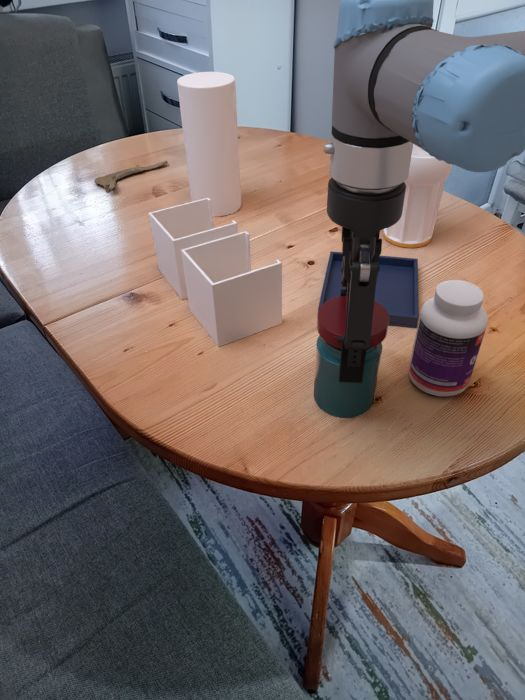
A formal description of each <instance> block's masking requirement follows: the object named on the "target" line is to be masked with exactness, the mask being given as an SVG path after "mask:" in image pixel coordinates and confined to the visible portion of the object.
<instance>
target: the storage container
mask: <svg viewBox="0 0 525 700" xmlns="http://www.w3.org/2000/svg"><path fill="white" fill-rule="evenodd" d="M148 218H149V224H150V225H149V226H150V230H151V236H152V241H153V247H154V253H155V258H156V264H157V269H158V271H159V272H160V273H161V275H162V276H163V277H164V279H165V280H166V282H167V283H168V284H169V286H170V287H171V288H172V289H173V290H174V292H175V293H176V294H177V295H178V297H179V298H180V299H181V300H182V301H183V300H186V299H187V304H188V310H189V311H190V312H191V314H192V315H193V316H194V317H195V319H196V320H197V321H198V322H199V324H200V325H201V327H202V328H203V329H204V330H205V331H206V333H207V335H208V336H209V337H210V338H211V340H212V341H213V342H214V344H215V345H216V346H217V347H218V348H220V347H222V346H225V345H227V344H231V343H233V342H236V341H239V340H241V339H244V338H246V337H250V336H252V335H255V334H257V333H260V332H263V331H265V330H268V329H271V328H274V327H276V326H280V325H282V324H283V262H282V261H280V260H279V259H275V262H274V263H272V264H269V265H266V266H262V267H260V268H257V269H254V270H252V264H251V263H252V262H251V242H250V241H251V240H250V233H249V232H248V231H247V230H245V231H241V232H239V231H238V223H237V222H236V221H235V220H234V219H233V220H231V223H228V224H224V225H220V226H218V227H214V217H213V216H212V205H211V200H210V199H209V198H205V199H201V200H197V201H193V202H191V201H190V202H186V203H185V202H184V203H181V204H177V205H173V206H169V207H166V208H162V209H158V210H155V211H150V212H148Z"/></svg>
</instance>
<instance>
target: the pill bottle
mask: <svg viewBox="0 0 525 700" xmlns="http://www.w3.org/2000/svg"><path fill="white" fill-rule="evenodd" d="M484 298H485V296H484V292H483V291H482V289H481V288H480V287H479V286H477V285H476V284H473V283H472V282H470V281H466V280H462V279H448V280H444V281H441V282H440V283H438V285H437V286H436V287H435V292H434V294H433V296H432V297H429V299H427V300H426V301H425V302H424V303H423V305H422V306H421V308H420V312H419V319H418V324H417V328H416V332H415V337H414V341H413V346H412V351H411V356H410V361H409V366H408V375H409V379H410V380H411V382H412V383H413V384H414V386H415V387H417V388H418V389H419V390H420V391H422V392H423V393H426V394H429V395H431V396H436V397H452V396H457V395H459V394H461V393H463V392H464V391H465V390H466V389H467V388H468V386H469V384H470V381H471V378H472V375H473V372H474V369H475V365H476V362H477V359H478V356H479V352H480V349H481V347H482V343H483V340H484V337H485V334H486V330H487V327H488V323H489V317H488V313H487V311H486V310H485V308H484V307H483V306H482V305H483V302H484Z"/></svg>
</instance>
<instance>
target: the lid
mask: <svg viewBox="0 0 525 700" xmlns="http://www.w3.org/2000/svg"><path fill="white" fill-rule="evenodd" d="M346 302H347V296H340V297H335V298H332V299H330V300H328V301H326V302H325V303H324V304H323V305H322V306H321V307H320V308H319V311H318V310H317V317H316V318H317V319H316V331H317V333H318V336H319V335H320V336H321V338H322V339H323V340H324V341H326V342H327V343H329V344H330V345H332V346H334V347H337V348H340V349H341V348H342V343H338V336H343V335H344V334H345V319H346ZM389 326H390V325H389V314H388V312H387V311H386V309H385V308H384V307H383V306H382V305H381V304H379V303H378V302H376V301H374V309H373V319H372V328H371V338H370V342H371V347H370V348H373V347H375V346H377V345H379V344H380V343H383V342H384V341H385V339H386V337H387V335H388V331H389Z"/></svg>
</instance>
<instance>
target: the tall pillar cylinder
mask: <svg viewBox="0 0 525 700" xmlns="http://www.w3.org/2000/svg"><path fill="white" fill-rule="evenodd" d="M176 84H177V85H176V86H177V93H178V100H179V110H180V120H181V127H182V135H183V136H182V137H183V144H184V145H183V146H184V153H185V161H186V169H187V179H188V187H189V195H190V202H193V201H197V200H201V199H205V198H209V199H210V200H211V205H212V216H213V218H216V217H219V218H220V217H226V216H228V215H229V216H230V215H232V214H234V213H236V212H237V211H239V210H240V209H241V207H242V188H241V187H242V186H241V169H240V167H241V166H240V149H239V130H238V111H237V90H236V78H235V76H234V75H233V74H230V73H227V72H222V71H200V72H199V71H198V72H193V73H188V74H184V75H182V76H179V78H178V79H177V81H176Z"/></svg>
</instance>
